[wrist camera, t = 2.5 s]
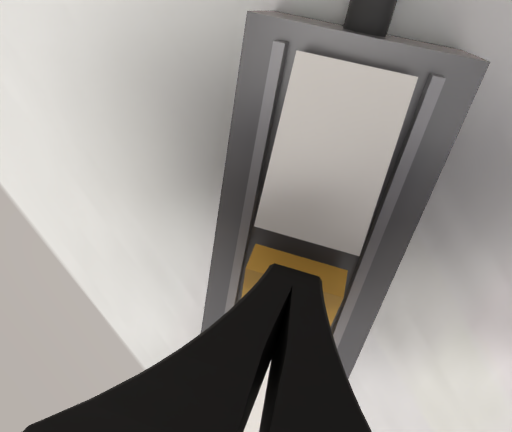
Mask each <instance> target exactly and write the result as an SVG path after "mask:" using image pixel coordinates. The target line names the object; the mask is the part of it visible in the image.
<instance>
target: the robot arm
mask: <svg viewBox="0 0 512 432" xmlns="http://www.w3.org/2000/svg"><path fill="white" fill-rule="evenodd" d="M270 362H271V364H270ZM269 364H270V370H269V376H268V382H267V388H266V393H265V399H264V405H263V411H262V417H261V423H260V429H259V432H372V431H371V429H370V427H369V425H368V423H367V421H366V419H365V417H364V415H363V413H362V411H361V409H360V406H359V404H358V402H357V400H356V397H355V395H354V393H353V391H352V388H351V386H350V383H349V381H348V378H347V376H346V373H345V370H344V367H343V365H342V362H341V359H340V356H339V353H338V350H337V347H336V344H335V341H334V337H333V334H332V330H331V327H330V323H329V319H328V315H327V311H326V306H325V301H324V295H323V287H322V280H321V279H320V277H319V276H316V275H313V274H309V273H306V272H303V271H299V270H296V269H292V268H289V267H286V266H282V265H279V264H275V263H274V264H272V265H269V267H268V269H267V270H266V272H265V273H264V274H263V276H262V277H261V278H260V279H259V280H258V282H257V283H256V284H255V285H254V286H253V287H252V288H251V289H250V290H249V291H248V292H247V293H246V294H245V295H244V296H243V297H242V298H241V299H240V300H239V301H238V302H237V303H236V304H235V305H234V306H233V307H232V308H231V309H230V310H229V311H228V312H226V313H225V314H224V315H223V316H222V317H221V318H219V319H218V320H217V321H216V322H215V323H214V324H212V325H211V326H210V327H209V328H207V329H206V330H205V331H204V332H202V333H201V334H200V335H198V336H197V337H196V338H194V339H193V340H191V341H190V342H189V343H187V344H186V345H184V346H183V347H182V348H180V349H179V350H177V351H176V352H174V353H172V354H171V355H169V356H168V357H166V358H165V359H163V360H161V361H160V362H158V363H157V364H155V365H153V366H152V367H150V368H148V369H147V370H145V371H143V372H141V373H140V374H138V375H136V376H134V377H132V378H130V379H128V380H126V381H124V382H122V383H121V384H119V385H117V386H115V387H113V388H111V389H109V390H107V391H105V392H103V393H101V394H100V395H97V396H95V397H93V398H91V399H89V400H87V401H85V402H82V403H80V404H78V405H76V406H73V407H71V408H68V409H66V410H64V411H62V412H59V413H57V414H55V415H52V416H50V417H48V418H45V419H44V420H41V421H38V422H36V423H34V424H31V425H29V426H28V427H27V428H26V429H25V430H24V431H23V432H244V429H245V426H246V424H247V421H248V419H249V416H250V413H251V411H252V408H253V406H254V403H255V401H256V398H257V395H258V393H259V390H260V388H261V385H262V382H263V380H264V377H265V375H266V372H267V369H268V367H269Z"/></svg>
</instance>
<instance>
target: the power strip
mask: <svg viewBox="0 0 512 432" xmlns="http://www.w3.org/2000/svg"><path fill="white" fill-rule="evenodd" d="M396 2H397V0H350V4H349V7H348V11H347V15H346V19H345V23H344V25H339V24H334V23H329V22H324V21H320V20H315V19H310V18H305V17H300V16H296V15H291V14H286V13H281V12H276V11H247V17H246V24H245V31H244V38H243V45H242V52H241V58H240V65H239V72H238V79H237V86H236V93H235V100H234V107H233V114H232V121H231V128H230V135H229V142H228V149H227V156H226V163H225V170H224V177H223V184H222V191H221V198H220V204H219V211H218V218H217V225H216V232H215V239H214V246H213V253H212V260H211V267H210V274H209V281H208V288H207V295H206V302H205V309H204V316H203V323H202V330H201V333H202V332H204V331H205V330H206V329H207V328H209V327H210V326H211V325H212V324H214V323H215V322H216V321H217V320H218V319H219V318H221V317H222V316H223V315H224V314H225V313H226V312H228V311H229V310H230V309H231V308H232V307H233V306H234V305H235V304H236V303H237V302H238V301H239V300H240V299H241V297H242V290H243V283H244V276H245V269H246V266H247V263H248V261H249V258H250V256H251V254H252V251H253V249H254V246H255V244H259V245H262V246H266V247H269V248H273V249H276V250H279V251H283V252H286V253H290V254H293V255H297V256H300V257H304V258H307V259H310V260H314V261H317V262H321V263H324V264H328V265H331V266H334V267H338V268H341V269H345V270H348V272H347V279H346V286H345V292H344V298H343V300H342V303H341V305H340V307H339V309H338V311H337V313H336V316H335V318H334V320H333V322H332V324H331V330H332V334H333V337H334V341H335V344H336V347H337V350H338V353H339V356H340V359H341V362H342V365H343V367H344V370H345V373H346V376H347V378H349V376H350V374H351V371H352V369H353V367H354V365H355V363H356V360H357V358H358V356H359V354H360V351H361V349H362V347H363V345H364V342H365V340H366V338H367V336H368V334H369V331H370V329H371V327H372V325H373V322H374V320H375V318H376V316H377V313H378V311H379V309H380V307H381V305H382V302H383V300H384V298H385V296H386V293H387V291H388V289H389V287H390V284H391V282H392V280H393V278H394V276H395V273H396V271H397V269H398V267H399V264H400V262H401V260H402V258H403V255H404V253H405V251H406V249H407V247H408V244H409V242H410V240H411V238H412V235H413V233H414V231H415V229H416V226H417V224H418V222H419V220H420V218H421V215H422V213H423V211H424V209H425V206H426V204H427V202H428V200H429V197H430V195H431V193H432V191H433V189H434V186H435V184H436V182H437V180H438V177H439V175H440V173H441V171H442V168H443V166H444V164H445V162H446V160H447V157H448V155H449V153H450V151H451V148H452V146H453V144H454V142H455V139H456V137H457V135H458V133H459V131H460V128H461V126H462V124H463V122H464V119H465V117H466V115H467V113H468V110H469V108H470V106H471V104H472V101H473V99H474V97H475V95H476V93H477V90H478V88H479V86H480V84H481V81H482V79H483V77H484V75H485V72H486V70H487V68H488V66H489V64H490V62H489V61H487V60H484V59H482V58H479V57H477V56H475V55H472V54H470V53H468V52H465V51H463V50H459V49H454V48H449V47H445V46H440V45H435V44H430V43H425V42H421V41H416V40H411V39H406V38H401V37H397V36H392V35H387V31H388V28H389V24H390V21H391V18H392V15H393V11H394V8H395V5H396ZM296 50H298V51H302V52H307V53H311V54H316V55H321V56H325V57H330V58H334V59H339V60H343V61H348V62H352V63H357V64H361V65H366V66H371V67H375V68H380V69H384V70H389V71H393V72H398V73H402V74H407V75H411V76H416V77H418V80H417V83H416V86H415V89H414V92H413V95H412V98H411V101H410V104H409V107H408V110H407V113H406V116H405V119H404V122H403V125H402V128H401V131H400V134H399V137H398V140H397V143H396V146H395V150H394V153H393V156H392V159H391V162H390V165H389V168H388V171H387V174H386V177H385V180H384V183H383V186H382V189H381V192H380V195H379V198H378V201H377V204H376V207H375V210H374V213H373V216H372V219H371V222H370V226H369V229H368V232H367V235H366V238H365V241H364V244H363V247H362V250H361V253H360V256H356V255H353V254H349V253H346V252H342V251H339V250H335V249H332V248H328V247H325V246H321V245H318V244H314V243H311V242H307V241H304V240H300V239H297V238H293V237H290V236H286V235H283V234H279V233H276V232H272V231H269V230H265V229H262V228H258V227H255V226H254V224H255V220H256V216H257V212H258V208H259V203H260V199H261V195H262V191H263V187H264V183H265V179H266V174H267V170H268V166H269V162H270V158H271V154H272V150H273V145H274V141H275V137H276V133H277V129H278V125H279V121H280V116H281V112H282V108H283V104H284V100H285V96H286V92H287V87H288V83H289V79H290V75H291V71H292V67H293V63H294V58H295V54H296Z"/></svg>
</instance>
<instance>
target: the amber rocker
mask: <svg viewBox="0 0 512 432" xmlns="http://www.w3.org/2000/svg"><path fill="white" fill-rule="evenodd" d="M274 263H275V264H279V265H282V266H286V267H289V268H292V269H296V270H299V271H303V272H306V273H309V274H313V275H316V276H319V277H320V279H321V280H322V287H323V295H324V301H325V306H326V311H327V315H328V319H329V323H330V327H331V324H332V322H333V320H334V318H335V316H336V313H337V311H338V309H339V307H340V305H341V303H342V300H343V298H344V292H345V286H346V279H347V272H348V270H345V269H341V268H338V267H334V266H331V265H328V264H324V263H321V262H317V261H314V260H310V259H307V258H304V257H300V256H297V255H293V254H290V253H286V252H283V251H279V250H276V249H273V248H269V247H266V246H262V245H259V244H255V246H254V249H253V251H252V254H251V256H250V258H249V261H248V263H247V266H246V269H245V276H244V283H243V290H242V297H243V296H244V295H245V294H246V293H247V292H248V291H249V290H250V289H251V288H252V287H253V286H254V285H255V284H256V283H257V282H258V280H259V279H260V278H261V277H262V276H263V274H264V273H265V272H266V270H267V269H268V267H269V265H272V264H274ZM242 297H241V298H242Z"/></svg>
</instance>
